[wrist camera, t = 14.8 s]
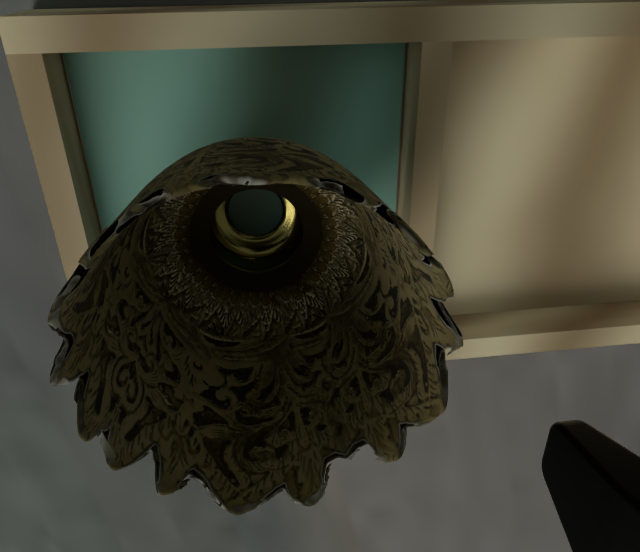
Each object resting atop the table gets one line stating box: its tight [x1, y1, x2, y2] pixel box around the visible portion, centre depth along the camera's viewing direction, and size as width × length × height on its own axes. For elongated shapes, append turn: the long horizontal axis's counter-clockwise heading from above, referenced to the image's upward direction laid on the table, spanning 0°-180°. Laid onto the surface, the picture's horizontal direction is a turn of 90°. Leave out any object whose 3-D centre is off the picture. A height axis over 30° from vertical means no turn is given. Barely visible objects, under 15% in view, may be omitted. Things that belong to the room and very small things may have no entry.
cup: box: [48, 137, 463, 515], centre depth 14 cm, size 8×7×8 cm
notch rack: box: [0, 0, 640, 360], centre depth 17 cm, size 21×11×2 cm, turn 91°
